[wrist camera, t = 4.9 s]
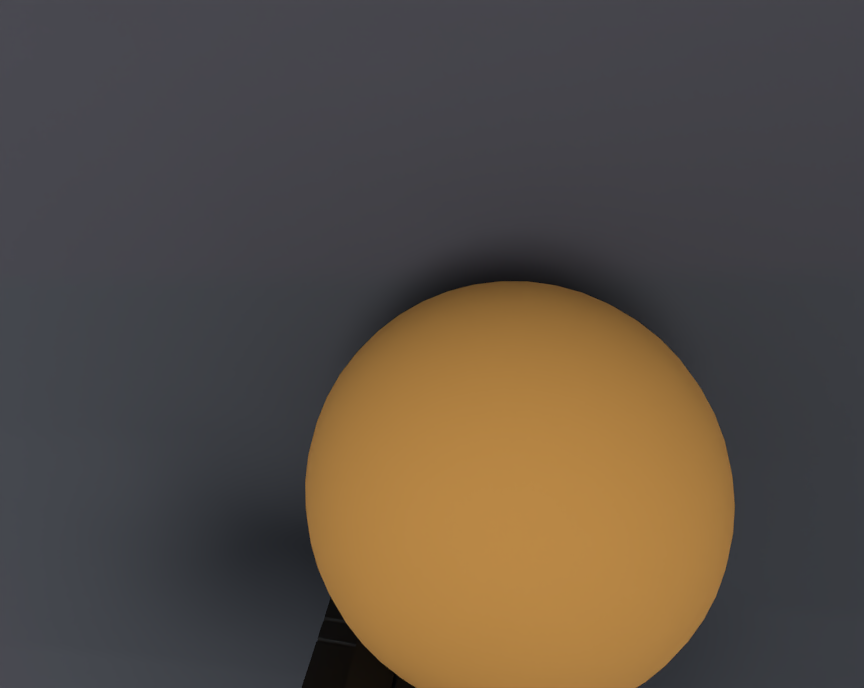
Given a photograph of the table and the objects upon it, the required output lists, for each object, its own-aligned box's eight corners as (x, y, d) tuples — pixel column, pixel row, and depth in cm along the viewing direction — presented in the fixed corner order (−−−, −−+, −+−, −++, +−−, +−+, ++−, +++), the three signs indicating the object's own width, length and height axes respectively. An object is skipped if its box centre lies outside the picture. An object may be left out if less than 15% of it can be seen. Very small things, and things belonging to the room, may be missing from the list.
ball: (691, 315, 11) (922, 356, 5) (615, 604, 12) (747, 919, 6) (384, 252, 12) (287, 225, 6) (329, 538, 12) (193, 774, 7)
